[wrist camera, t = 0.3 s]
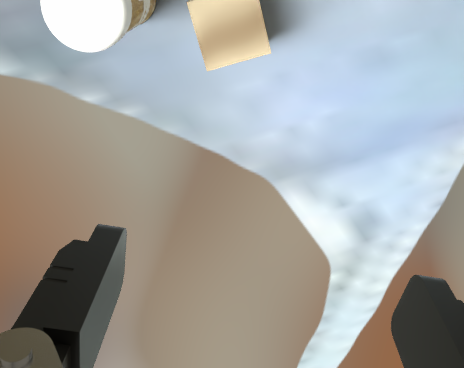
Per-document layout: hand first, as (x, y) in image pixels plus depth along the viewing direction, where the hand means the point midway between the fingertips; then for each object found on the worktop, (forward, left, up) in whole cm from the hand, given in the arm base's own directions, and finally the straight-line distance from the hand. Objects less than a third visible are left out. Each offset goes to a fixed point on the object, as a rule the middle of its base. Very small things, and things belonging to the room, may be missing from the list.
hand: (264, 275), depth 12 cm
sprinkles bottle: (-6, -8, -29) cm, 30 cm away
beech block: (-4, 0, -29) cm, 29 cm away
